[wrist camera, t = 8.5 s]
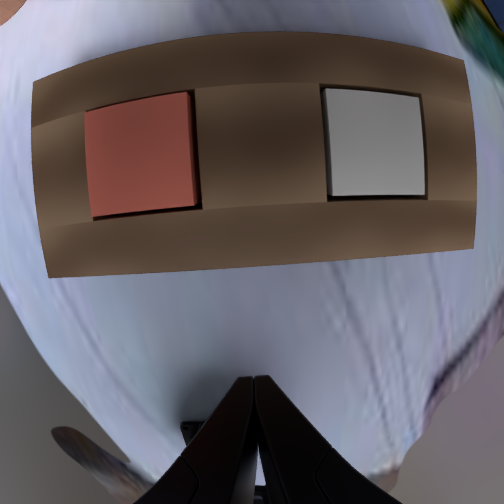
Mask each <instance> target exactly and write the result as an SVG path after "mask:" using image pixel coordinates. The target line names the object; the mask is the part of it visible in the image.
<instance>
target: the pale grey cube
mask: <svg viewBox="0 0 504 504" xmlns="http://www.w3.org/2000/svg"><path fill="white" fill-rule="evenodd" d="M320 99H321V110H322V122H323V135H324V150H325V167H326V189H327V194H328V195H332V196H345V195H425V181H424V152H423V136H422V124H421V114H420V105H419V98H417V97H411V96H404V95H396V94H389V93H380V92H370V91H359V90H345V89H325V90H324V91H323V92H322V93H321V94H320Z"/></svg>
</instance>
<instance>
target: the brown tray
mask: <svg viewBox="0 0 504 504" xmlns="http://www.w3.org/2000/svg"><path fill="white" fill-rule="evenodd" d="M325 89H345V90H359V91H370V92H380V93H389V94H396V95H404V96H411V97H417V98H419V105H420V114H421V124H422V136H423V152H424V181H425V195H345V196H332V195H328V194H327V189H326V167H325V150H324V135H323V122H322V110H321V99H320V94H321V93H322V92H323V91H324V90H325ZM182 92H187V93H188V94H189V96H190V97H191V98H192V100H193V101H194V103H195V104H196V121H197V138H198V153H199V168H200V181H201V193H202V201H200V202H199V203H197V204H196V205H194V206H183V207H173V208H163V209H153V210H144V211H135V212H127V213H118V214H110V215H102V216H95V217H91V210H90V201H89V192H88V181H87V169H86V154H85V127H84V113H85V112H89V111H92V110H96V109H100V108H104V107H108V106H112V105H117V104H121V103H126V102H130V101H135V100H140V99H145V98H151V97H156V96H162V95H168V94H175V93H182ZM31 151H32V171H33V184H34V195H35V204H36V212H37V219H38V226H39V232H40V238H41V244H42V249H43V254H44V259H45V264H46V269H47V273H48V277H49V278H62V277H84V276H105V275H124V274H143V273H160V272H178V271H194V270H210V269H226V268H241V267H256V266H270V265H284V264H298V263H311V262H324V261H337V260H350V259H362V258H375V257H386V256H398V255H410V254H421V253H432V252H443V251H454V250H464V249H473V248H474V238H475V225H476V205H477V163H476V144H475V131H474V121H473V112H472V104H471V97H470V91H469V85H468V79H467V74H466V69H465V64H464V60H461V59H458V58H454V57H451V56H448V55H444V54H441V53H437V52H434V51H430V50H426V49H422V48H418V47H414V46H409V45H404V44H400V43H395V42H389V41H384V40H378V39H371V38H365V37H357V36H349V35H340V34H329V33H314V32H281V31H276V32H243V33H228V34H217V35H208V36H199V37H192V38H185V39H178V40H172V41H167V42H161V43H156V44H151V45H146V46H142V47H137V48H133V49H129V50H125V51H121V52H117V53H114V54H110V55H106V56H103V57H100V58H96V59H93V60H90V61H87V62H84V63H81V64H78V65H75V66H72V67H69V68H67V69H64V70H61V71H59V72H56V73H53V74H51V75H48V76H46V77H44V78H41V79H39V80H37V81H34V82H33V91H32V111H31Z"/></svg>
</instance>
